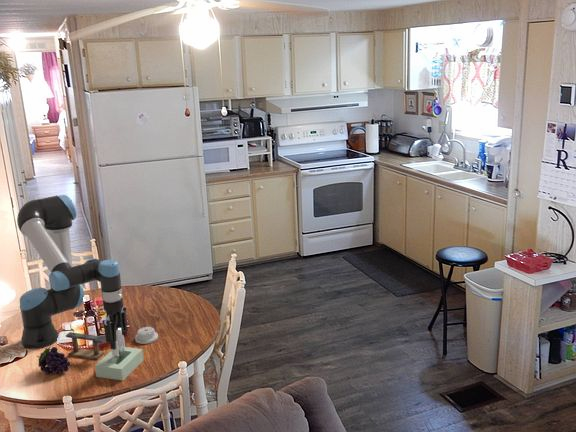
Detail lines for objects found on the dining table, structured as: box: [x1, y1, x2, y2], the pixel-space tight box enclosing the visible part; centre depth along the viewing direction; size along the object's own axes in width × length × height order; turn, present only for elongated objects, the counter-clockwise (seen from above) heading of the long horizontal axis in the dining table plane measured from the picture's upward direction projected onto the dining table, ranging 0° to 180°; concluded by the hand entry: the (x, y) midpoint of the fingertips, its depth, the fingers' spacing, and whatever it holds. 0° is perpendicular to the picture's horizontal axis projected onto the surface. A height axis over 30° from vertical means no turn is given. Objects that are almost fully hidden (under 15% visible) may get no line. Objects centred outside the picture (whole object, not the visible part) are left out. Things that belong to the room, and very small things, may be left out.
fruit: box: [36, 344, 71, 374], centre depth 226 cm, size 10×11×15 cm
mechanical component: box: [134, 326, 159, 345], centre depth 251 cm, size 10×4×10 cm
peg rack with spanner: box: [65, 331, 106, 361], centre depth 237 cm, size 18×5×9 cm, turn 74°
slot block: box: [94, 346, 145, 381], centre depth 227 cm, size 12×16×5 cm
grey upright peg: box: [114, 326, 124, 358], centre depth 225 cm, size 4×4×12 cm
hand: (118, 352), depth 226 cm, fingers closed on grey upright peg, 4 cm apart
